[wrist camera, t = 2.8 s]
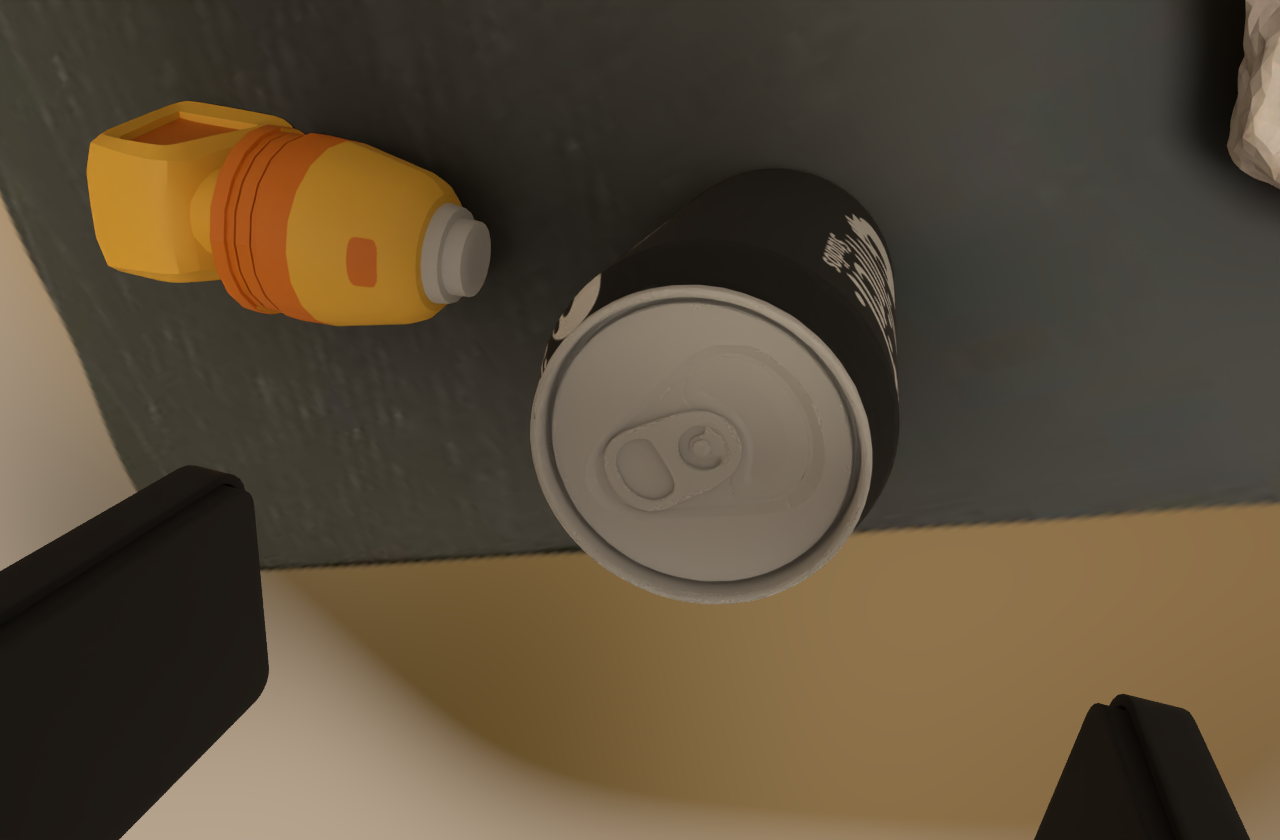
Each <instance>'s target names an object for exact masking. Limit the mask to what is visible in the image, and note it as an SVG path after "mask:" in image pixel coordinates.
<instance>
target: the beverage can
mask: <svg viewBox="0 0 1280 840" xmlns="http://www.w3.org/2000/svg"><path fill="white" fill-rule="evenodd" d="M898 437H899V396H898V372H897V347H896V323H895V298H894V276H893V268H892V262H891V258H890V254H889V251H888V248H887V245H886V243H885V240H884V238H883V236H882V234H881V232H880V230H879V228H878V227H877V225H876V223H875V222H874V220H873V219H872V217H871V216H870V215H869V214H868V212H867V211H866V210H865V209H864V208H863V207H862V206H861V205H860V204H859V203H858V202H857V201H856V200H855V199H854V198H853V197H852V196H850V195H849V194H848V193H846V192H845V191H844V190H842V189H841V188H839V187H837V186H836V185H834V184H832V183H830V182H828V181H826V180H824V179H822V178H819V177H816V176H814V175H810V174H807V173H803V172H799V171H793V170H783V169H767V170H757V171H752V172H747V173H743V174H740V175H737V176H734V177H731V178H729V179H726V180H724V181H722V182H720V183H718V184H716V185H715V186H713V187H711V188H710V189H708V190H707V191H705V192H704V193H703V194H701V195H700V196H699V197H697V198H696V199H695V200H694V201H692V202H691V203H690V204H689V205H687V206H686V207H685V208H683V209H682V210H681V211H680V212H678V213H677V214H676V215H674V216H673V217H672V218H671V219H669V220H668V221H667V222H665V223H664V224H663V225H662V226H660V227H659V228H658V229H657V230H655V231H654V232H653V233H651V234H650V235H649V236H648V237H646V238H645V239H644V240H642V241H641V242H640V243H639V244H637V245H636V246H635V247H633V248H632V249H631V250H630V251H628V252H627V253H626V254H625V255H623V256H622V257H621V258H619V259H618V260H617V261H616V262H614V263H613V264H612V265H610V266H609V267H608V268H607V269H605V270H604V271H603V272H601V273H600V274H599V275H598V276H596V277H595V278H594V279H593V280H592V281H591V282H589V283H588V284H587V285H586V286H585V287H584V288H583V289H582V290H581V291H580V292H579V293H578V294H577V296H576V297H575V298H574V299H573V300H572V301H571V303H570V304H569V306H568V307H567V308H566V310H565V311H564V313H563V314H562V316H561V317H560V319H559V320H558V322H557V324H556V326H555V328H554V330H553V333H552V335H551V337H550V339H549V341H548V344H547V348H546V351H545V355H544V358H543V362H542V367H541V373H540V381H539V384H538V387H537V390H536V393H535V397H534V402H533V407H532V414H531V422H530V442H531V449H532V456H533V463H534V466H535V470H536V473H537V477H538V480H539V483H540V486H541V488H542V491H543V493H544V496H545V498H546V500H547V502H548V504H549V506H550V507H551V509H552V511H553V513H554V515H555V516H556V518H557V519H558V520H559V522H560V523H561V525H562V526H563V527H564V529H565V530H566V532H567V533H568V534H569V535H570V536H571V538H572V539H573V540H574V541H575V542H576V543H577V544H578V545H579V546H580V547H581V548H582V550H584V551H585V552H586V553H587V554H588V555H589V556H590V557H592V558H593V559H594V560H595V561H596V562H597V563H599V564H600V565H602V566H603V567H605V568H606V569H607V570H608V571H610V572H611V573H613V574H615V575H617V576H618V577H620V578H622V579H623V580H625V581H627V582H629V583H630V584H632V585H635V586H637V587H639V588H642V589H644V590H647V591H649V592H651V593H654V594H657V595H660V596H663V597H667V598H670V599H675V600H680V601H685V602H691V603H703V604H734V603H741V602H748V601H753V600H757V599H761V598H765V597H769V596H772V595H774V594H777V593H779V592H782V591H784V590H786V589H789V588H791V587H793V586H795V585H797V584H798V583H800V582H802V581H804V580H805V579H807V578H808V577H810V576H811V575H813V574H814V573H815V572H817V571H818V570H819V569H820V568H822V567H823V566H824V565H825V564H826V563H827V562H828V561H829V560H830V559H831V558H832V557H833V556H834V555H835V554H836V553H837V552H838V551H839V550H840V548H841V547H842V546H843V545H844V543H845V542H846V541H847V539H848V538H849V536H850V535H851V533H852V531H853V530H854V529H855V528H856V527H857V526H858V525H859V524H860V523H861V521H862V520H863V519H864V518H865V517H866V515H867V514H868V513H869V511H870V510H871V509H872V507H873V506H874V504H875V503H876V501H877V499H878V498H879V496H880V494H881V492H882V490H883V488H884V487H885V484H886V482H887V480H888V477H889V475H890V472H891V470H892V467H893V463H894V459H895V455H896V450H897V445H898Z"/></svg>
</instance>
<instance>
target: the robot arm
mask: <svg viewBox="0 0 1280 840" xmlns="http://www.w3.org/2000/svg"><path fill="white" fill-rule="evenodd" d="M268 674H269V664H268V653H267V642H266V631H265V621H264V609H263V598H262V587H261V576H260V565H259V554H258V544H257V533H256V522H255V511H254V503H253V498H252V496H251V495H250V493H248V492H247V491H245V488H244V485H243V483H242V482H241V480H240V479H239V478H238V477H236V476H234V475H231V474H227V473H223V472H219V471H215V470H211V469H207V468H203V467H199V466H192V465H187V466H184V467H181V468H179V469H177V470H175V471H174V472H172V473H170V474H168V475H167V476H165V477H163V478H161V479H160V480H158V481H156V482H154V483H153V484H151V485H149V486H148V487H146V488H144V489H142V490H141V491H139V492H137V493H135V494H134V495H132V496H130V497H128V498H127V499H125V500H123V501H121V502H120V503H118V504H116V505H115V506H113V507H111V508H109V509H108V510H106V511H104V512H102V513H101V514H99V515H97V516H95V517H94V518H92V519H90V520H88V521H87V522H85V523H83V524H82V525H80V526H78V527H76V528H75V529H73V530H71V531H70V532H68V533H66V534H64V535H62V536H61V537H59V538H57V539H56V540H54V541H52V542H50V543H49V544H47V545H45V546H43V547H42V548H40V549H38V550H36V551H35V552H33V553H31V554H29V555H28V556H26V557H24V558H23V559H21V560H19V561H17V562H16V563H14V564H12V565H10V566H9V567H7V568H5V569H3V570H2V571H0V840H119V839H120V838H121V837H122V836H123V835H124V834H125V833H126V832H127V831H128V830H129V829H130V828H131V827H132V826H133V825H134V824H135V823H136V822H137V821H138V820H139V819H140V818H141V817H142V816H143V815H144V814H145V813H146V812H147V811H148V810H149V809H150V808H151V807H152V806H153V805H154V804H155V803H156V802H157V801H158V800H159V799H160V798H161V797H162V796H163V795H164V793H166V792H167V791H168V790H169V789H170V787H171V786H172V785H173V784H174V783H175V782H176V781H177V780H178V779H179V778H180V777H181V776H182V775H183V774H184V773H185V772H186V771H187V770H188V769H189V768H190V767H191V766H192V765H193V764H194V763H195V762H196V761H197V760H198V759H199V758H200V757H201V756H202V755H203V754H204V753H205V752H206V751H207V750H208V749H209V748H210V747H211V746H212V745H213V744H214V743H215V742H216V741H217V740H218V739H219V738H220V737H221V736H222V735H223V734H224V733H225V732H226V731H227V730H228V729H229V728H230V727H231V726H232V725H233V724H234V723H235V721H237V720H238V718H240V717H241V716H242V715H243V714H244V713H245V712H246V710H247V709H248V708H249V707H250V706H251V705H252V704H253V703H254V702H255V701H256V700H257V699H258V698H259V696H260V695H261V693H262V691H263V689H264V687H265V685H266V682H267V679H268ZM1034 840H1250V838H1249V836H1248V834H1247V832H1246V830H1245V828H1244V825H1243V823H1242V821H1241V819H1240V817H1239V815H1238V813H1237V811H1236V808H1235V806H1234V804H1233V802H1232V799H1231V797H1230V795H1229V793H1228V791H1227V789H1226V787H1225V784H1224V782H1223V780H1222V778H1221V776H1220V774H1219V772H1218V769H1217V767H1216V765H1215V763H1214V761H1213V759H1212V756H1211V754H1210V752H1209V750H1208V748H1207V746H1206V743H1205V741H1204V739H1203V737H1202V735H1201V733H1200V730H1199V729H1198V726H1197V724H1196V722H1195V720H1194V718H1193V717H1192V715H1191V714H1190V712H1188V711H1187V710H1185V709H1183V708H1179V707H1175V706H1171V705H1167V704H1162V703H1159V702H1154V701H1150V700H1146V699H1142V698H1138V697H1134V696H1130V695H1126V694H1120V695H1117V696H1116V697H1115V698H1114V699H1113V700H1112V702H1111V704H1110V706H1107V705H1103V704H1099V703H1097V704H1094V705H1093V706H1092V707H1091V708H1090V710H1089V711H1088V713H1087V715H1086V717H1085V720H1084V722H1083V724H1082V727H1081V729H1080V732H1079V734H1078V736H1077V739H1076V741H1075V744H1074V746H1073V748H1072V751H1071V753H1070V755H1069V758H1068V760H1067V763H1066V765H1065V768H1064V770H1063V772H1062V775H1061V777H1060V779H1059V782H1058V784H1057V787H1056V789H1055V791H1054V794H1053V796H1052V798H1051V801H1050V803H1049V805H1048V808H1047V810H1046V813H1045V815H1044V817H1043V820H1042V822H1041V825H1040V827H1039V829H1038V832H1037V834H1036V837H1035V839H1034Z"/></svg>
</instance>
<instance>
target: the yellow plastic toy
mask: <svg viewBox="0 0 1280 840" xmlns="http://www.w3.org/2000/svg"><path fill="white" fill-rule="evenodd" d="M87 179H88V187H89V196H90V204H91V210H92V216H93V222H94V227H95V233H96V238H97V241H98V243H99V245H100V248H101V250H102V252H103V255H104V257H105V260H106V262H107V264H108V266H110V267H112V268H114V269H117V270H119V271H122V272H126V273H130V274H134V275H138V276H143V277H147V278H151V279H156V280H161V281H166V282H177V283H184V282H200V281H211V280H222V282H223V284H224V286H225V288H226V290H227V292H228V293H229V294H230V295H231V296H232V297H233V298H234V299H235V300H236V301H237V302H238V303H239V304H240V305H241V306H242V307H244V308H247V309H250V310H253V311H256V312H260V313H265V314H278V313H284V314H285V315H287V316H290V317H293V318H296V319H299V320H302V321H308V322H315V323H321V324H327V325H334V326H358V325H391V324H411V323H415V322H420V321H423V320H427V319H430V318H432V317H433V316H434V315H435V314H436V313H438V312H439V311H440V310H441V309H442V308H443V307H445V306H446V305H447V304H451V303H454V302H457V301H458V300H459V299H460V298H461V297H462V296H465V297H472V296H475V295H476V294H477V293H478V292H479V291H480V289H481V287H482V286H483V284H484V281H485V278H486V276H487V272H488V268H489V264H490V255H491V240H490V234H489V231H488V228H487V226H486V225H485V224H484V223H483V222H480V221H476V220H474V218H473V216H472V213H471V212H469V211H468V210H467V209H466V208H463V207H462V205H461V203H460V201H459V199H458V197H457V196H456V194H455V192H454V190H453V189H452V187H451V186H450V185H449V184H447V183H446V182H445V181H444V180H443V179H441V178H440V177H438V176H437V175H435V174H434V173H432V172H430V171H428V170H425V169H423V168H421V167H418V166H416V165H414V164H411V163H409V162H407V161H405V160H402V159H400V158H398V157H395V156H393V155H391V154H388V153H386V152H384V151H381V150H379V149H377V148H374V147H372V146H370V145H367V144H365V143H361V142H357V141H352V140H348V139H343V138H339V137H334V136H330V135H324V134H316V133H310V134H307V135H305V134H304V133H302V132H301V131H299V130H297V129H293V128H292V126H291V125H290V124H289V123H288V122H286V121H285V120H284V119H282V118H279V117H276V116H273V115H267V114H262V113H257V112H252V111H246V110H241V109H235V108H230V107H224V106H218V105H212V104H207V103H200V102H192V101H183V102H178V103H175V104H172V105H169V106H166V107H164V108H161V109H158V110H156V111H153V112H151V113H148V114H146V115H143V116H141V117H138V118H136V119H133V120H131V121H128V122H126V123H123V124H121V125H118V126H116V127H113V128H111V129H108V130H106V131H105V132H103V133H102V134H100V135H99V136H98V137H97V138H96V139H94V140H93V141H92V142H91V143H90V150H89V157H88V164H87Z"/></svg>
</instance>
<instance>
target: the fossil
mask: <svg viewBox="0 0 1280 840" xmlns="http://www.w3.org/2000/svg"><path fill="white" fill-rule="evenodd" d="M1245 2H1246V20H1245V30H1244V40H1243V47H1244V53H1245V56H1244V58H1243V60H1242V63H1241V65H1240V67H1239V70H1238V97H1237V100H1236V103H1235V106H1234V109H1233V113H1232V117H1231V122H1230V135H1229V139H1228V142H1227V148H1228V152H1229V154H1230V156H1231V158H1232V160H1233V162H1234V163H1235V164H1236V165H1237V166H1238V168H1239V169H1240V170H1242V171H1243V172H1244V173H1247V174H1248V175H1250V176H1251V177H1253V178H1255V179H1258V180H1261V181H1264V182H1267V183H1269V184H1271V185H1273V186H1275V187H1277V188H1278V189H1280V0H1245Z"/></svg>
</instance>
